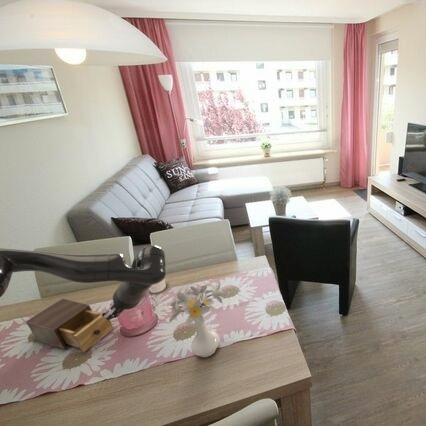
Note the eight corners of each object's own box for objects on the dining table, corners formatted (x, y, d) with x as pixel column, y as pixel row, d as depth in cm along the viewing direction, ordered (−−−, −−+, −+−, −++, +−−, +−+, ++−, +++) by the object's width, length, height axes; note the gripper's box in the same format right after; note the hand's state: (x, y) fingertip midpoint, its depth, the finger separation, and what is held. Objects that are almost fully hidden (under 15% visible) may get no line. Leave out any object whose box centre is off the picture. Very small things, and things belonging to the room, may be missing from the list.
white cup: (164, 280, 139) (159, 263, 135) (169, 288, 134) (163, 270, 130) (146, 288, 135) (140, 270, 131) (150, 296, 129) (144, 278, 125)
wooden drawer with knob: (115, 328, 112) (109, 313, 109) (86, 353, 102) (78, 336, 99) (88, 321, 116) (80, 305, 113) (57, 343, 106) (48, 328, 103)
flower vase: (239, 334, 108) (228, 280, 98) (202, 377, 93) (184, 318, 83) (212, 324, 113) (199, 271, 103) (173, 363, 98) (152, 305, 88)
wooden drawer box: (98, 323, 116) (89, 305, 112) (64, 349, 105) (53, 330, 101) (71, 316, 120) (62, 298, 116) (37, 340, 109) (25, 321, 105)
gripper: (140, 270, 93) (123, 294, 102) (101, 297, 82) (86, 321, 90) (158, 286, 94) (139, 308, 103) (121, 315, 82) (104, 337, 91)
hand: (114, 314), depth 96 cm, fingers closed
